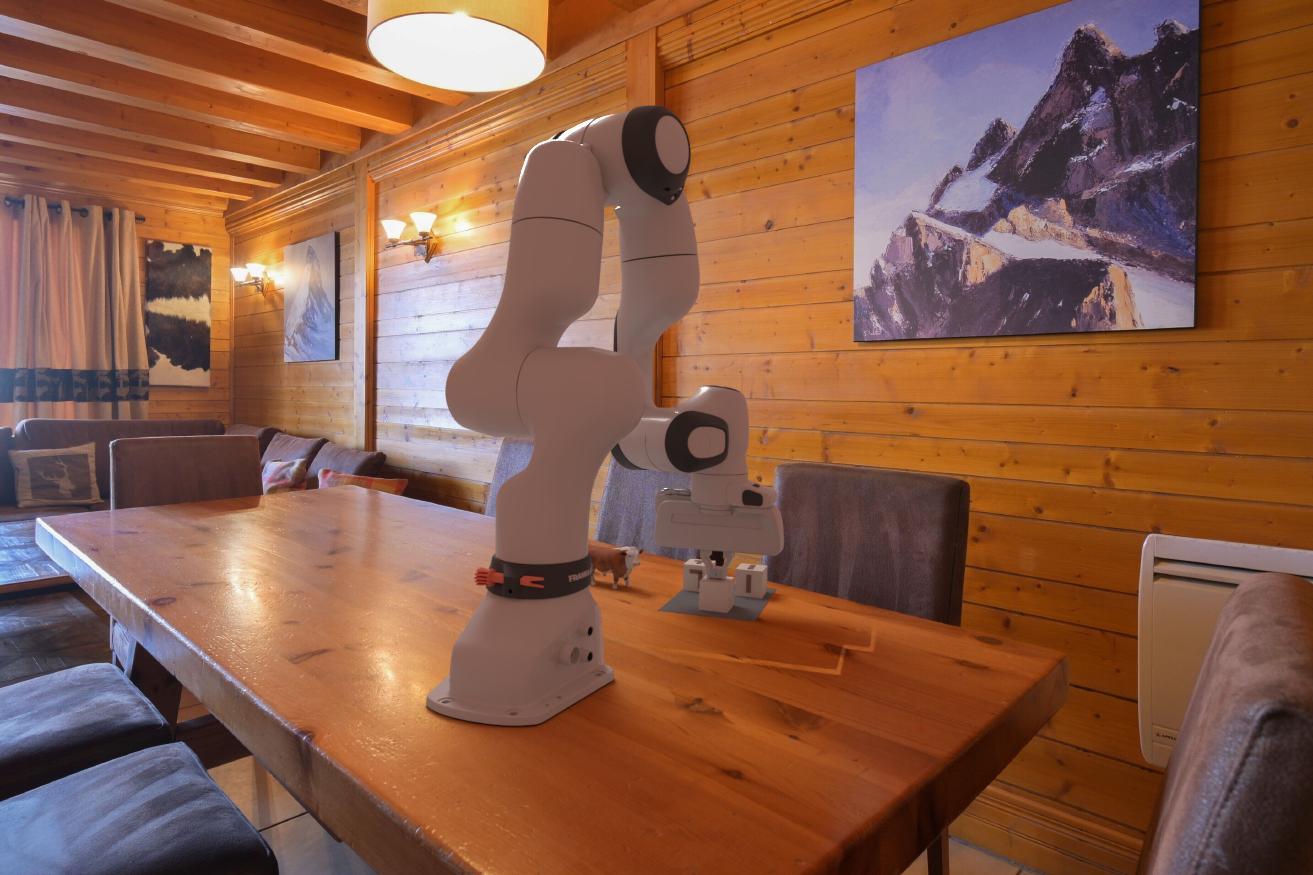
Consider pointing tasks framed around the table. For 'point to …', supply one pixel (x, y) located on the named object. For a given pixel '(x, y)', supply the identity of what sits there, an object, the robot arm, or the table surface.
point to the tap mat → (740, 611)
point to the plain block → (716, 594)
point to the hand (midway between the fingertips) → (716, 578)
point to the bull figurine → (614, 562)
